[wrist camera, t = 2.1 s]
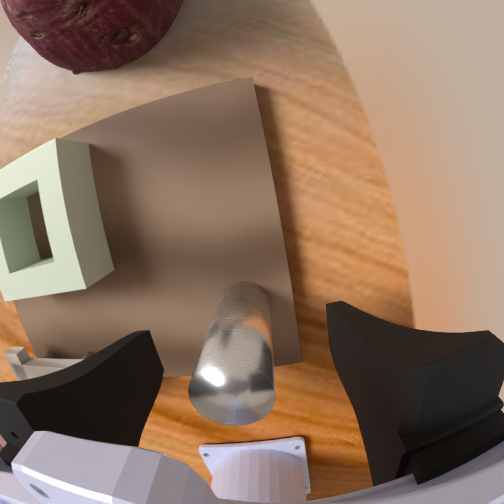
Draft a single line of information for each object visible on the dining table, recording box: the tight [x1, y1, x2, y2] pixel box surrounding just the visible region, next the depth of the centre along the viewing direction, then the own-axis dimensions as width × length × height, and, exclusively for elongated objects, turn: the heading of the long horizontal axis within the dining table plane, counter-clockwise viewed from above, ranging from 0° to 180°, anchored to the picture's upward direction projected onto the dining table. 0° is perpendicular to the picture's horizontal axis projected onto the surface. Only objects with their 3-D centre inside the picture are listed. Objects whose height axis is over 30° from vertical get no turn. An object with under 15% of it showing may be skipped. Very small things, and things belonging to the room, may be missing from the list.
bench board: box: [4, 77, 302, 381], centre depth 14 cm, size 16×19×4 cm
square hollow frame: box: [0, 138, 115, 301], centre depth 13 cm, size 7×7×3 cm
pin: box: [188, 281, 275, 426], centre depth 11 cm, size 3×3×7 cm
